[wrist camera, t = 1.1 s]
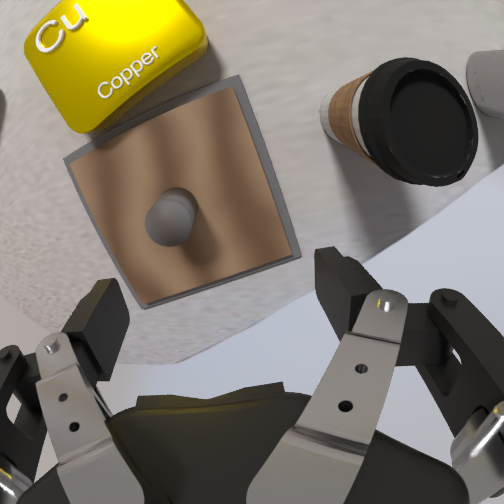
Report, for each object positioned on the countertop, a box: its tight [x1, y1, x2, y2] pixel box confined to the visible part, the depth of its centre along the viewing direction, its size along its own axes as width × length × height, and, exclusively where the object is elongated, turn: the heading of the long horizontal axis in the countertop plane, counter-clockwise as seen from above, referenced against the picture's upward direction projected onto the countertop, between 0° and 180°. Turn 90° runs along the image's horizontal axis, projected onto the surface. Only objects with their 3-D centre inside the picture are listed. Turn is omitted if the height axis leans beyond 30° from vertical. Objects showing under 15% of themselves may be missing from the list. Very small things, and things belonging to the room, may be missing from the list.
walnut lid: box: [70, 86, 292, 304], centre depth 27 cm, size 18×18×6 cm
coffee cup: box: [320, 57, 478, 187], centre depth 20 cm, size 8×8×15 cm
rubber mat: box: [63, 75, 301, 309], centre depth 29 cm, size 20×20×1 cm
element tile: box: [24, 0, 208, 134], centre depth 20 cm, size 15×15×5 cm
